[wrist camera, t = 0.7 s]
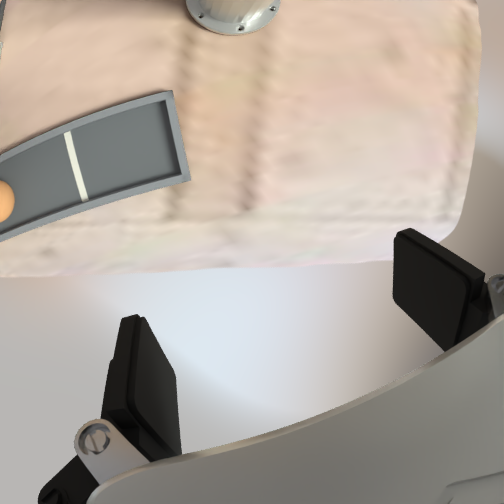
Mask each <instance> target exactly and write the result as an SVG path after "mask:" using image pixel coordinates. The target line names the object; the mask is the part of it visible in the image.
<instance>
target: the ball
mask: <svg viewBox="0 0 504 504" xmlns="http://www.w3.org/2000/svg"><path fill="white" fill-rule="evenodd" d="M14 203H15V197H14V193H13V190H12V188H11V187H10V186H9V185H8V184H7V183H6V182H4V181H1V180H0V222H3V221H4V220H6V219H7V218H8V217H9V216H10V214H11V213H12V211H13V208H14Z"/></svg>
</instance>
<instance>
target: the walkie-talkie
mask: <svg viewBox="0 0 504 504" xmlns="http://www.w3.org/2000/svg"><path fill="white" fill-rule="evenodd" d="M5 4H6V0H2V1H1V3H0V30H1V25H2V20H3V15H4V14H3V13H4V8H5ZM2 47H3V42H0V58H1V50H2Z"/></svg>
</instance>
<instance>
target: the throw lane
mask: <svg viewBox="0 0 504 504" xmlns="http://www.w3.org/2000/svg"><path fill="white" fill-rule="evenodd" d="M0 180H1V181H4V182H6V183H7V184H8V185H9V186H10V187H11V188H12V190H13V193H14V197H15V203H14V208H13V211H12V213H11V214H10V216H9V217H8V218H7V219H6V220H4V221H3V222H0V242H2V241H4V240H7V239H9V238H12V237H14V236H17V235H19V234H22V233H24V232H27V231H30V230H32V229H35V228H38V227H40V226H43V225H46V224H48V223H51V222H54V221H57V220H60V219H62V218H65V217H68V216H71V215H74V214H77V213H80V212H83V211H86V210H89V209H92V208H95V207H98V206H102V205H105V204H108V203H111V202H114V201H118V200H121V199H124V198H128V197H131V196H135V195H138V194H142V193H145V192H149V191H152V190H156V189H160V188H163V187H167V186H171V185H175V184H179V183H183V182H187V181H191V176H190V172H189V167H188V163H187V158H186V154H185V149H184V145H183V140H182V135H181V131H180V126H179V121H178V116H177V111H176V106H175V101H174V96H173V91H172V90H170V91H166V92H162V93H158V94H154V95H150V96H147V97H143V98H140V99H136V100H133V101H129V102H126V103H123V104H120V105H117V106H114V107H111V108H108V109H105V110H102V111H99V112H96V113H93V114H91V115H88V116H85V117H82V118H80V119H77V120H75V121H72V122H70V123H67V124H65V125H62V126H60V127H58V128H55V129H53V130H51V131H48V132H46V133H44V134H42V135H39V136H37V137H35V138H33V139H31V140H29V141H27V142H25V143H23V144H21V145H19V146H17V147H15V148H13V149H11V150H9V151H7V152H5V153H3V154H2V155H0Z"/></svg>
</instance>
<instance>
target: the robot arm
mask: <svg viewBox="0 0 504 504" xmlns="http://www.w3.org/2000/svg"><path fill="white" fill-rule="evenodd" d="M186 5H187V8H188V11H189V13H190V14H191V16H192V17H193V18H194V20H195V21H196V22H198V23H199V24H200V25H201V26H203V27H204V28H206V29H208V30H210V31H213V32H215V33H219V34H223V35H233V36H235V35H245V34H249V33H253V32H255V31H258V30H260V29H261V28H263V27H264V26H266V25H267V24H268V23H269V22H271V20H272V19H273V18H274V17H275V16H276V14H277V12H278V10H279V6H280V0H186ZM270 9H272V10H273V11H271V10H270ZM200 16H202V17H203V18H199V17H200ZM238 29H242V31H239V30H238ZM484 277H485V273H483V272H482V271H481V270H479V269H478V268H476V267H475V266H473V265H472V264H470V263H469V262H467V261H465V260H464V259H462V258H460V257H459V256H458V255H456V254H454V253H453V252H451V251H450V250H448V249H446V248H445V247H443V246H441V245H440V244H438V243H436V242H435V241H433V240H431V239H430V238H428V237H426V236H425V235H423V234H421V233H419V232H418V231H416V230H414V229H412V228H408V229H405V230H402V231H399V232H398V233H397V234H396V237H395V238H394V266H393V299H394V301H395V303H396V304H397V305H398V306H399V307H400V308H401V309H402V310H403V311H404V312H405V313H406V314H408V316H409V317H410V318H412V319H413V320H414V321H415V322H416V323H417V324H418V325H419V326H420V327H421V328H422V329H423V330H424V331H425V332H426V333H427V334H428V335H429V336H430V337H431V338H432V339H433V340H434V341H435V342H436V343H437V344H438V345H439V346H440V347H441V348H442V349H443V351H444V353H443V354H441V355H439V356H438V357H436V358H434V359H433V360H431V361H429V362H428V363H426V364H424V365H422V366H421V367H419V368H417V369H415V370H413V371H412V372H410V373H408V374H406V375H404V376H402V377H400V378H399V379H397V380H395V381H393V382H391V383H389V384H387V385H385V386H383V387H381V388H379V389H377V390H375V391H372V392H370V393H368V394H366V395H364V396H362V397H359V398H357V399H355V400H353V401H351V402H348V403H346V404H344V405H341V406H339V407H336V408H334V409H332V410H329V411H327V412H324V413H322V414H319V415H316V416H314V417H311V418H309V419H306V420H303V421H301V422H298V423H295V424H292V425H289V426H286V427H283V428H280V429H277V430H274V431H271V432H268V433H264V434H261V435H258V436H255V437H251V438H248V439H244V440H240V441H237V442H233V443H230V444H225V445H222V446H218V447H214V448H210V449H205V450H201V451H197V452H192V453H187V454H183V455H182V450H181V439H180V428H179V417H178V403H177V388H176V376H175V373H174V370H173V368H172V366H171V365H170V363H169V361H168V359H167V358H166V356H165V354H164V352H163V350H162V349H161V347H160V345H159V343H158V341H157V339H156V337H155V336H154V334H153V332H152V330H151V328H150V326H149V324H148V322H147V320H146V319H145V317H140V316H139V315H138V314H135V315H132V316H128V317H124V318H122V319H121V323H120V327H119V332H118V337H117V342H116V347H115V352H114V357H113V359H112V360H111V361H110V364H109V369H108V374H107V380H106V386H105V392H104V398H103V405H102V412H101V419H95V420H92V421H89V422H87V423H86V424H84V425H83V426H82V427H81V428H80V429H79V431H78V432H77V434H76V436H75V440H74V448H75V450H76V453H77V455H76V456H75V457H74V458H73V459H72V460H71V461H70V462H69V463H68V464H67V465H66V466H65V467H64V468H63V469H62V470H60V471H59V473H57V474H56V475H55V476H54V477H53V478H52V479H51V480H50V481H49V482H48V483H47V484H46V485H45V486H44V487H43V488H42V489H41V491H40V493H39V496H38V504H504V274H496V275H493V276H491V277H490V278H489V280H488V281H487V283H485V282H484Z"/></svg>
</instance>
